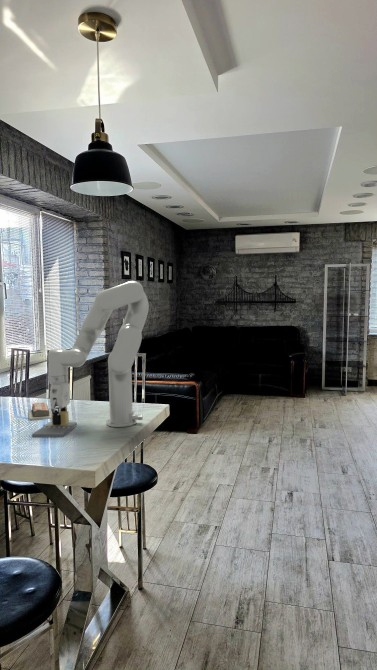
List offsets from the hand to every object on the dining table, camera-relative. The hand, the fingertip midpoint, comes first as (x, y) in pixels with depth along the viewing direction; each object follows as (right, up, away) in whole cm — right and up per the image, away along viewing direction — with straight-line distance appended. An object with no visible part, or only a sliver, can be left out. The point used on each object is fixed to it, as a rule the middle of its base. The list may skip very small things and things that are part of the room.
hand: (60, 422), depth 181 cm
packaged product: (-16, -2, +22) cm, 27 cm away
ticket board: (-1, -3, -8) cm, 9 cm away
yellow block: (0, -2, 0) cm, 2 cm away
